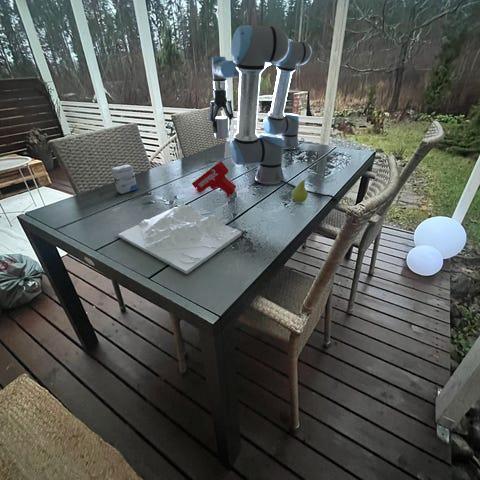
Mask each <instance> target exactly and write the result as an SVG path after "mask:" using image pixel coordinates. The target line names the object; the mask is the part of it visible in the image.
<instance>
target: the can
mask: <svg viewBox="0 0 480 480" xmlns="http://www.w3.org/2000/svg"><path fill="white" fill-rule="evenodd" d="M215 121H216V126H217V133H214V138H215V139H223V140H225V139H228V138H230V131H229V117H227V116H226V115H220V116H218V115H217V116H216V119H215Z"/></svg>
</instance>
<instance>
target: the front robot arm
mask: <svg viewBox="0 0 480 480" xmlns="http://www.w3.org/2000/svg"><path fill="white" fill-rule="evenodd" d="M288 39H289V37H288V34H287V33H286V31H284V30H283V29H282V28H281V27H278V26H273V25H271V26H267V25H251V24H249V25H240V26H238V27H236V29H235V31H234V33H233V36H232V41H231V50H230V53H231V60H227V59H226V58H227V57H225V56H213V57H212V58H211V69H212V85H213V86H212V87H213V89H214V90H213V98H214V99H213V100H211V101H209V110H208V111H209V112H208V121H211V127H212V131H213V133H217V126H216V121H215V119H216V117H217V116H218V113H219V111H220V109H222V110H223V112H224V113H225V116H226V117H229V132H231V125H232V120H233V119H234V117H235V116H234V111H233V106H232V99H228V91H227V89H228V82H227V79H230V78H231V79H234V78H235V79H237V78H238V79H239V80H238V81H239V82H238V106H237V108H238V109H237V131H236V132H235V133H234V135H233V139H230V141H229V152H230V155H231V159H232V161H233V162H234V164H236V165H237V166H239V165H243V166H244V165H250V164H258V167H257V171H256V172H255V178H254V181H255V183H258V184H259V185H262V186H263V185H264V186H279V185H281V184H285V185H287V186H289V187H292V188H293V189H295V188H296V187H297V185H293V184H292V183H289V182H288V181H285V175H284V172H283V171H284V170H283V167H282V165H283V154H284V153H283V152H284V149H283V138H282V135H279V134H276V135H274V134H266V133H260V134H258V133H257V124H258V123H257V122H258V109H259V97H260V85H261V75H262V73H263V72H264V71H265V69H266V68H267V67H269V66H271V65H276V64H277V63H279V62H281V61H282V60H284V59H285V57H286V56H287V54H288V51H289V40H290V39H289V40H288ZM306 190H307V189H306ZM307 192H308V194H312V195H317V196H321V197H325V198H326V197H327V198H331V199H333V201H334V202H337V198H336V197H335V196H334V195H332V194H325V193H320V192H315V191H311V190H307Z"/></svg>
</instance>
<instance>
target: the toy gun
mask: <svg viewBox="0 0 480 480" xmlns="http://www.w3.org/2000/svg"><path fill="white" fill-rule="evenodd" d="M228 173H229V169H228V168H227V166H226V165H225V164H224V163H223V162H222V161H219V162H217V163H216V164H214V166H212V167H211V168H210V169H209V170H207V171H206V172H204V173H203V174H202V175H201V176H199V177H198V178H197V179H196V180H194V181H193V182H192V183H191V184H192V186H193V187H194V189H195V190H196V191H197V193H199V194H201V193H203V192H204V191H205V190H207V189H208V188H210V189H211V190H213V191H215V190H216V189H218V188H219V189H220V190H222V191H223V192H224V193H225V194H226V196H227V197H229V196H230V195H233V194H235V192H236V188H237V186H236V184H235V183H233V182H232V181H230V180H229V179H228V178H227V177H226V175H227V174H228Z"/></svg>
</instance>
